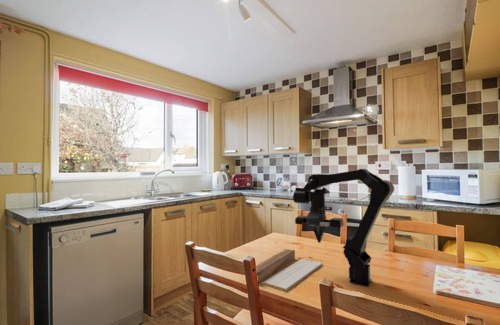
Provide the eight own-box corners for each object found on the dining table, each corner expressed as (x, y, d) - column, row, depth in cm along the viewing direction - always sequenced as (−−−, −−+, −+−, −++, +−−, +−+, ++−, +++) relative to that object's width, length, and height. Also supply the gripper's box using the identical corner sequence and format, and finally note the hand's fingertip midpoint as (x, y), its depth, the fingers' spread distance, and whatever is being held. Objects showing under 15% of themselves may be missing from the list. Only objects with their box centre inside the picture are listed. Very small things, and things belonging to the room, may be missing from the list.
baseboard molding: (258, 284, 96) (286, 293, 88) (257, 276, 96) (285, 285, 88) (297, 260, 120) (322, 266, 113) (297, 254, 120) (322, 259, 113)
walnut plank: (294, 258, 121) (294, 250, 121) (258, 283, 95) (257, 272, 95) (285, 256, 124) (285, 248, 124) (247, 280, 98) (246, 270, 98)
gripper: (289, 205, 105) (290, 244, 105) (335, 207, 95) (337, 250, 95) (299, 202, 115) (300, 238, 114) (342, 204, 105) (344, 243, 104)
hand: (319, 242), depth 106 cm, fingers closed
